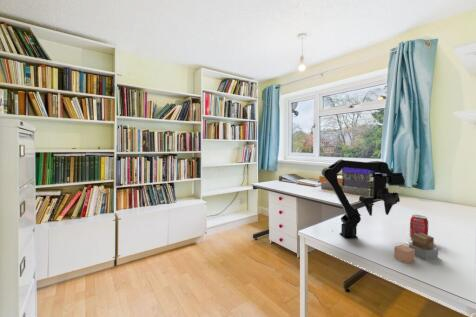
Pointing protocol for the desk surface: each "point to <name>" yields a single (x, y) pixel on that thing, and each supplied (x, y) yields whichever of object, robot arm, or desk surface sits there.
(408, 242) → the swatch
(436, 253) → the slate base
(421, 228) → the soda can
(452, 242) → the desk surface
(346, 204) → the robot arm
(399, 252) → the terracotta cube
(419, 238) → the walnut cube
